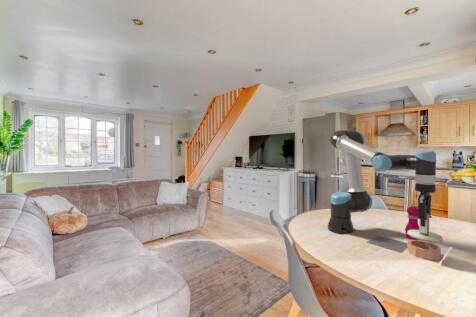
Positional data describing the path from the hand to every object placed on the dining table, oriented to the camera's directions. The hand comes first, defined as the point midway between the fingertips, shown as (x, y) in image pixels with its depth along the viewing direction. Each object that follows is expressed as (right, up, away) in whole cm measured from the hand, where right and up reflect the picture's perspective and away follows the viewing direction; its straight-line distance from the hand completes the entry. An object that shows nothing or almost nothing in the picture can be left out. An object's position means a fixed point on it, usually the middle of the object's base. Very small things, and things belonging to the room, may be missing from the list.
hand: (424, 231), depth 107 cm
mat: (-8, -11, +13) cm, 19 cm away
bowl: (0, -12, +1) cm, 12 cm away
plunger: (0, -2, 0) cm, 2 cm away
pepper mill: (+10, -11, +20) cm, 25 cm away
